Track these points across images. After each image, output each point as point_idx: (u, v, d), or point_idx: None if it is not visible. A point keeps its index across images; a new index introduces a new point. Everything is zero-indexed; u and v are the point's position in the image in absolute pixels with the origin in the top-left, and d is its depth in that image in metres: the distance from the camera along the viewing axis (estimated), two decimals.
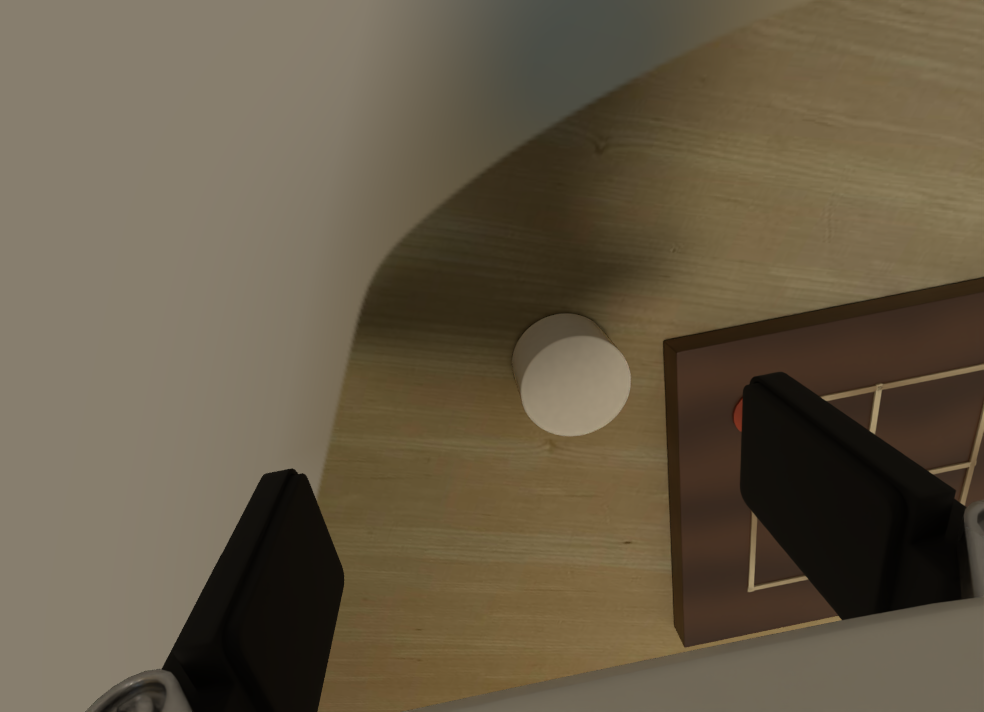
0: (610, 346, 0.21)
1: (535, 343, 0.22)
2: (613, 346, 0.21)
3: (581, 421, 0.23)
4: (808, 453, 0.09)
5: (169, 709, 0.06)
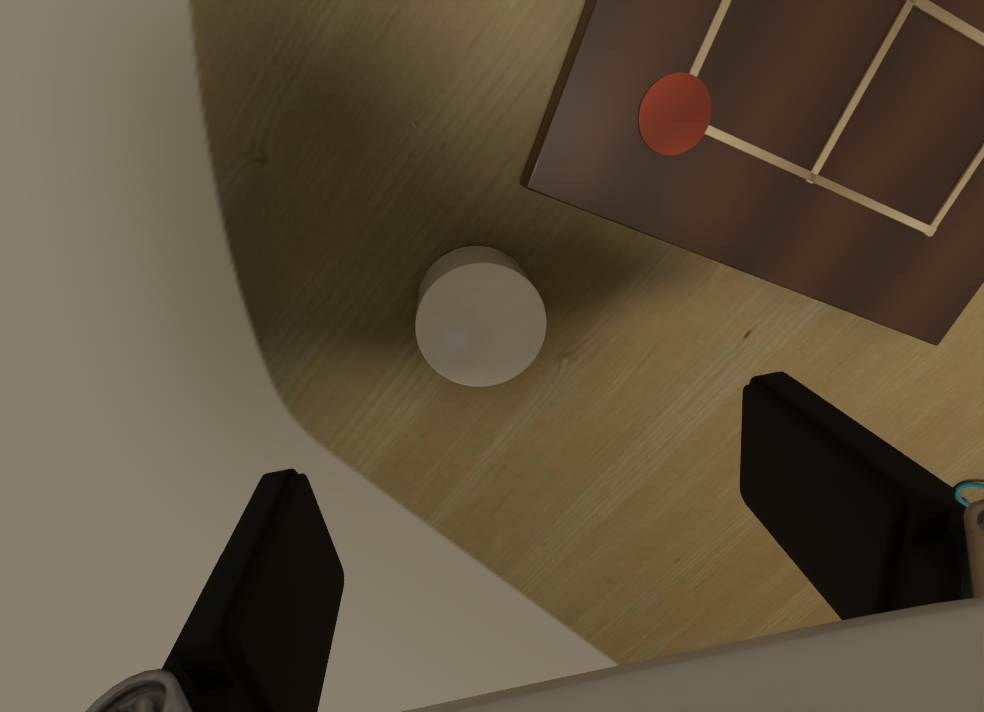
0: (453, 273, 0.18)
1: None
2: (455, 269, 0.18)
3: (524, 340, 0.19)
4: (808, 453, 0.09)
5: (169, 709, 0.06)
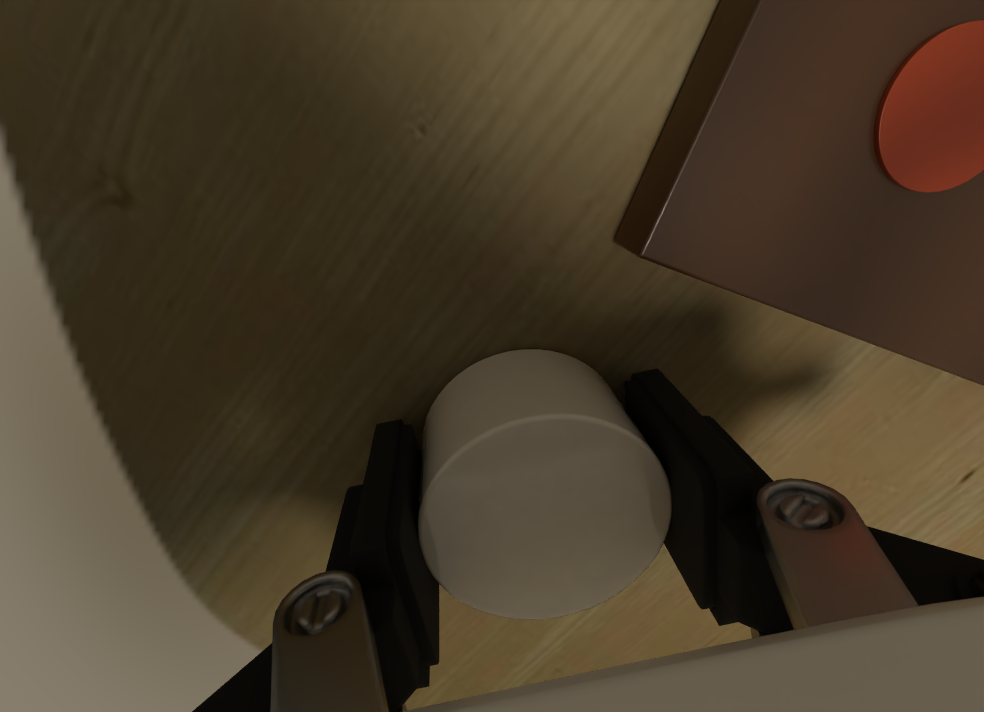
0: (496, 434, 0.09)
1: None
2: (500, 427, 0.09)
3: (627, 545, 0.10)
4: (660, 441, 0.10)
5: (356, 597, 0.07)
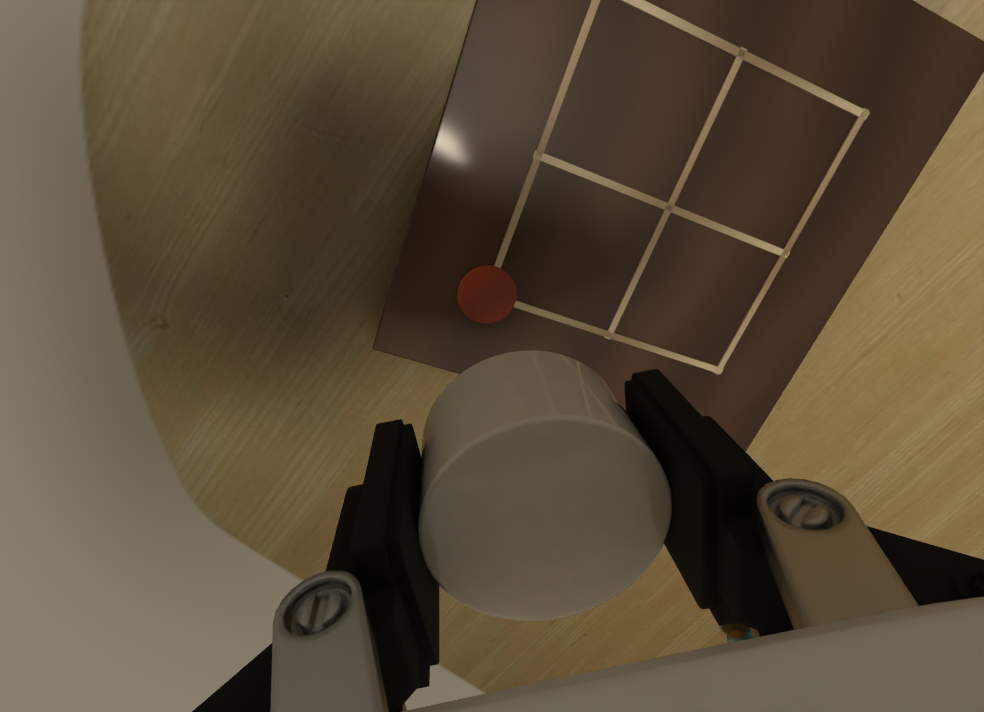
0: (496, 436, 0.09)
1: None
2: (500, 428, 0.09)
3: (627, 546, 0.10)
4: (660, 441, 0.10)
5: (356, 597, 0.07)
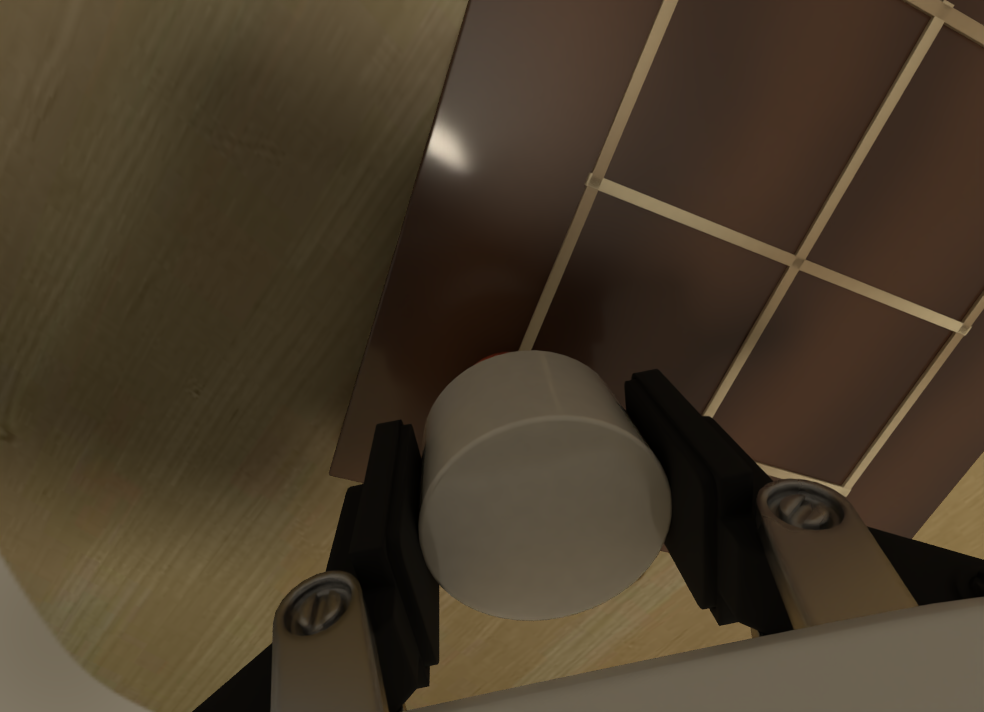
0: (496, 435, 0.09)
1: None
2: (500, 428, 0.09)
3: (627, 546, 0.10)
4: (660, 441, 0.10)
5: (356, 597, 0.07)
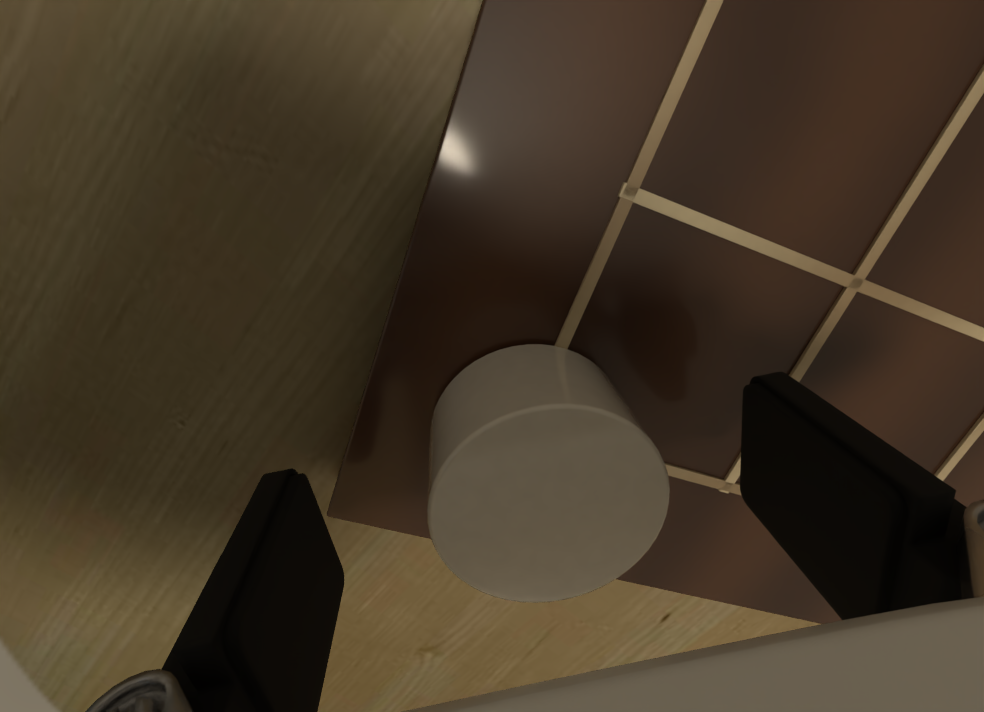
0: (502, 423, 0.09)
1: None
2: (506, 416, 0.09)
3: (626, 530, 0.10)
4: (808, 453, 0.09)
5: (169, 709, 0.06)
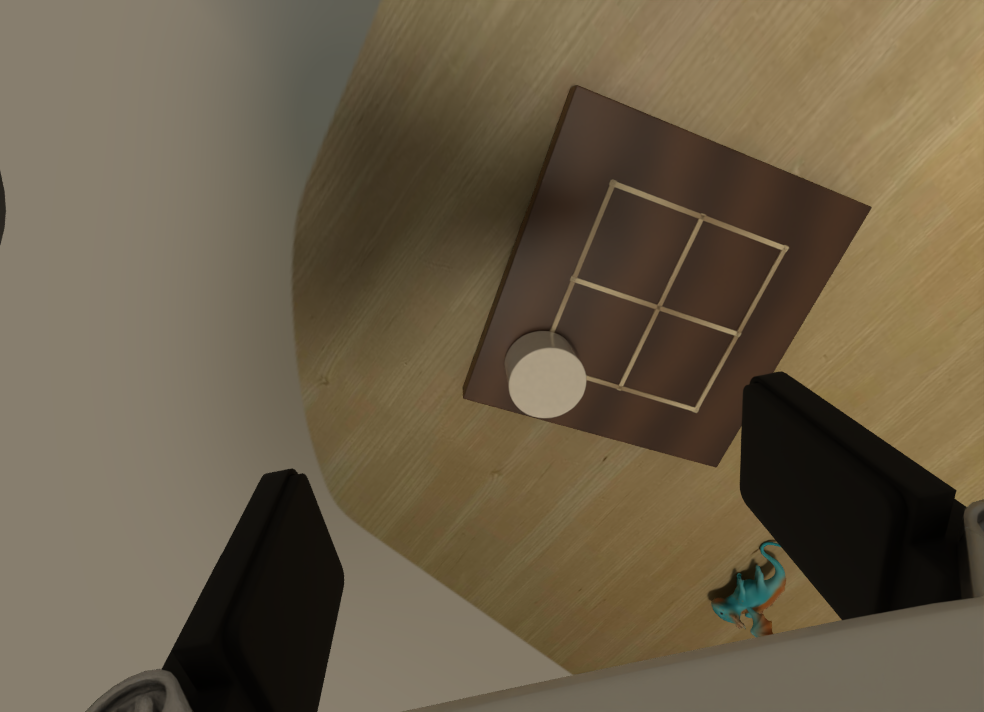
0: (532, 353, 0.30)
1: None
2: (533, 351, 0.31)
3: (572, 390, 0.32)
4: (808, 453, 0.09)
5: (169, 709, 0.06)
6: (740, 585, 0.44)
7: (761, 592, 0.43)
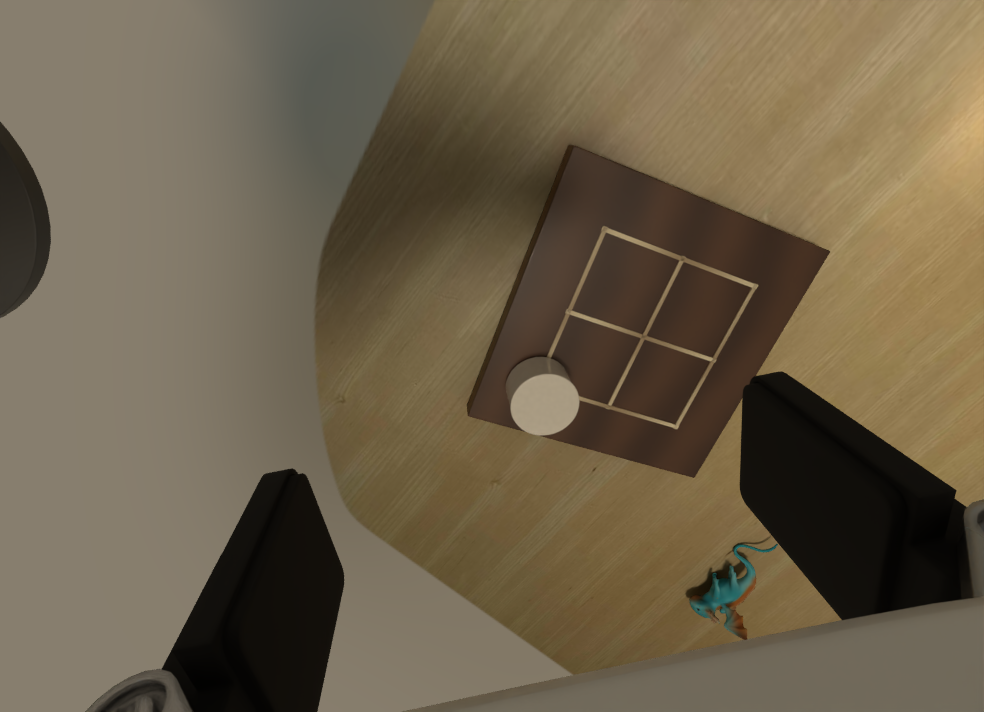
0: (532, 378, 0.34)
1: None
2: (533, 377, 0.34)
3: (567, 411, 0.36)
4: (808, 453, 0.09)
5: (169, 709, 0.06)
6: (715, 584, 0.48)
7: (734, 590, 0.47)
